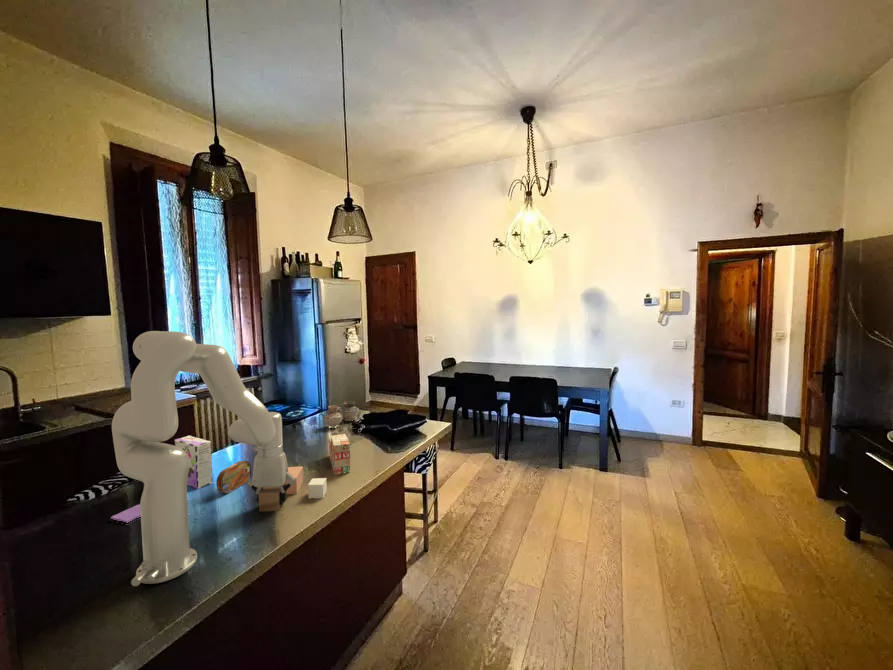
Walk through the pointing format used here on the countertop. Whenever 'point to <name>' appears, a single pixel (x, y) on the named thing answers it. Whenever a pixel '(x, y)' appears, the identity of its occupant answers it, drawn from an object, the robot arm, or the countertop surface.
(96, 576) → the countertop surface
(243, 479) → the tin
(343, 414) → the pottery
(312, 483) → the off-white cube
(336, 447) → the stack of blocks
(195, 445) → the candy box
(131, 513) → the sponges
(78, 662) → the countertop surface
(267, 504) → the walnut cube
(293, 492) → the terracotta block
